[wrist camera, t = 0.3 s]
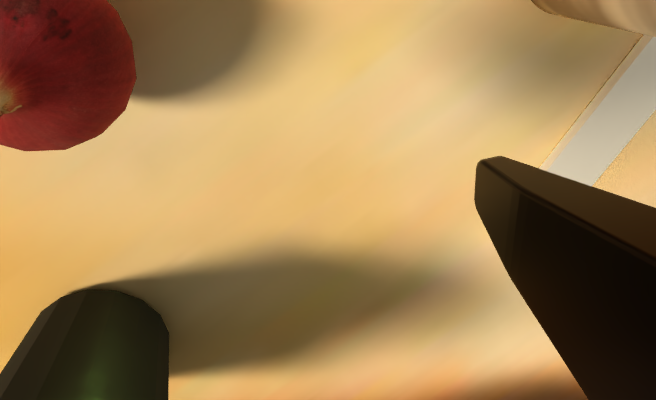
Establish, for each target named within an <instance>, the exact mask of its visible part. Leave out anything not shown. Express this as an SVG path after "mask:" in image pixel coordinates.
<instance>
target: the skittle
mask: <svg viewBox="0 0 656 400" xmlns="http://www.w3.org/2000/svg"><path fill="white" fill-rule="evenodd" d="M531 1H532V2H533V3H534V4H535V5H536V6H537V7H539V8H540V9H542V10H543V11H545V12H548V13H550V14H554V15H559V16H563V17H568V18H572V19H577V20H581V21H586V22H590V23H595V24H599V25H604V26H608V27H613V28H617V29H622V30H626V31H631V32H635V33H640V34H644V35H649V36H653V37H656V0H531Z"/></svg>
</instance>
